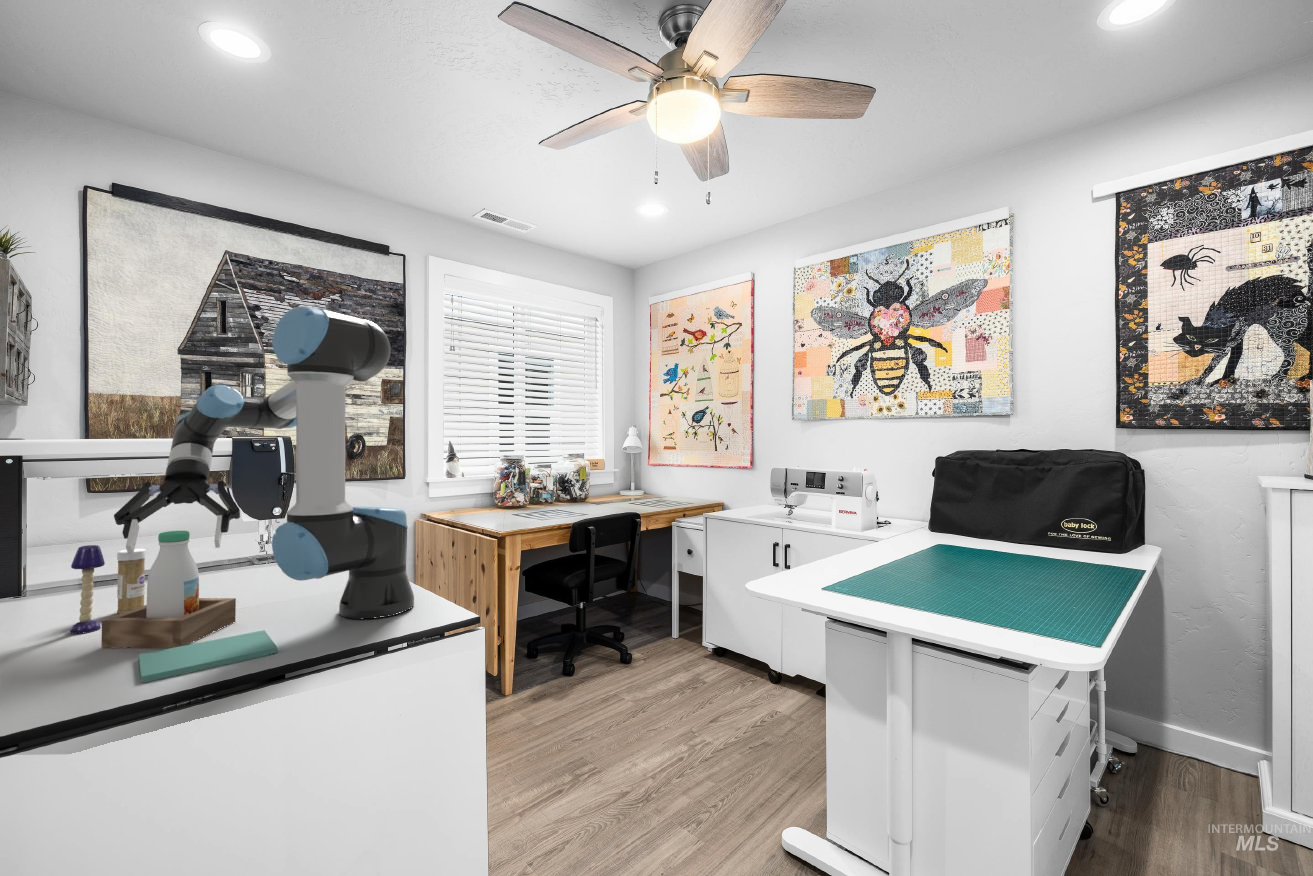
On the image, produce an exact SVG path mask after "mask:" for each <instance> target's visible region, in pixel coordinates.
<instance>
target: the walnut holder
mask: <svg viewBox="0 0 1313 876" xmlns="http://www.w3.org/2000/svg"><path fill="white" fill-rule="evenodd" d="M236 602H237V600H236V598H235V597H233V598H229V597H228V598H227V597H224V598H223V597H220V598H217V597H207V598H206V597H204V598H203V597H202V598H201V597H199V610H198V611H196V612H193V613H191V614H188V615H186V616H183V617H181V618H146V613H147V604H144V606H142V607H139V608H136V609H133V610H130V611H128V612H125V613H122V614H119V613H118V614H116V615H114V616H113V615H112V616H111V617H108V618H104V619H103V620H101V647H130V648H129V649H169V648H171V647H172V648H175V647H180V646H185V645H190V644H192V643H194V642H193V641H195V642H197V641H198V640H197V639H199V638H201V639H203V638H204V637H203V636H205V637H207V636H209V635H211V634H210V633H212V632H213V631H216V632H218V631H219V630H218V629H220V628H222V627H224V626H226V627H228V626H227V625H229V624H231V623H233V622H235V623H236V619H237V618H236V616H237V615H236V614H237V612H236V607H237V606H236V604H237V603H236ZM233 624H234V623H233ZM231 625H232V624H231ZM229 626H230V625H229ZM224 628H225V627H224ZM222 629H223V628H222ZM217 630H218V631H217ZM220 630H221V629H220ZM208 634H209V635H208ZM212 634H213V633H212ZM206 635H207V636H206ZM202 637H203V638H202ZM196 640H197V641H196ZM199 640H200V639H199ZM191 642H192V643H191ZM101 647H100V648H101Z"/></svg>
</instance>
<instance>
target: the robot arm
mask: <svg viewBox="0 0 1313 876" xmlns="http://www.w3.org/2000/svg"><path fill="white" fill-rule="evenodd" d="M272 350H273V353H274V354H275V357H276V358H277V360H279V361H280V362H281V363H283V364H285V365H287V367H286V368H287V369H286V370H287V372H286V373H287V376H288V377H289V378H291V381H289V382H288V383H287V384H285V385H283V386H281V387H280V388H279V389H277V390H276V391H274V392H272V393H271V394H269V395H268V396H265V397H259V396H258V397H257V396H246V395H245V396H243V395H242V394H241V393H240V391H239V390H237V389H235V388H233V387H229V386H227V385H224V384H215V385H212V386H210V387H209V386H208V388H207V389H205V391H203V393H202V394H201V395H200V396H198V398H197V400H196V402H195V404H194V405H193V407H192V408H191V410H190V411H187V412H186V413H182V414H181V415H180V416H179V417H178V419H177V421H176V424H175V425H174V427H173V437H172V441H171V442H172V443H171V445H170V446H171V447H170V452H169V455H168V461H167V467H166V470H165V474H164V478H163V480H164V481H163V482H162V484H160V485H157V484H155V485H154V484H152V483H151V482H150V481H149V482H148V481H147V482H144V483H143V484H142V486H141V488H140V490H139V491H138V492H137V493H136V494H135V495H134V496H132V497H131V498H130V499H129V500H128V501H127V502H126V503H125V504H124V505H123V506H122V507H121V508H120V509H118V510H117V512H116V513H114V515H113V519H114V521H115V525H117V526H121V525H123V529H122V531H121V532H122V536H123V538H124V540H126V542H125V548H126V549H125V550H127V552H128V554H133V553H134V549H136V543H137V539H138V535H139V530H140V525H139V524H140V523H141V522H143V521H144V520H146V519H147V518H148V517H150V516H152V515H153V514H154V513H156V512H157V511H159V510H161V509H162V508H166V507H168V506H169V505H171V504H174V505H180V504H193V503H195V502H197V504H199V505H201V507H202V506H204V507H205V509H207V510H208V511H210V512H211V513H213V515H215V516H217V517H216V518H217V519H216V526H215V531H214V532H215V533H214V546H215V549H217V548H218V549H220V548H221V543H222V534H224V533H228V531H229V528H230V521H231V520H233V519H235V520H238V519H240V518H241V510H240V508H239V506H238V505H237V504H236V502H235V501H234V500H233V498H232V496H231V495H230V493H229V492H228V491H227V489H226V487H225V486H226V485H225V481H224V480H219V481H217V483H209V479H210V473H211V466H212V459H213V458H212V457H213V452H214V445H215V444H216V440H217V439H218V438H219V437H220V436H221V435H222V434H223V433H224V431H226V429H227V428H243V429H244V428H248V429H249V428H250V429H251V428H252V429H254V428H255V429H275V430H282V429H291V428H295V427H296V431H295V445H296V446H295V447H296V448H295V451H296V452H295V453H296V456H295V457H296V459H295V462H296V463H295V464H296V465H295V504H294V505H293V506H291V508H290V509H289V510H288V511H286V522H284V523H282V524H281V525H279V526H278V527H277V528H276V529H275V533H273V534H272V535H273V536H272V539H271V549H272V554H273V558H274V560H275V562H276V564H277V566H278V567H279V569H280V570H281V571H282V573H283V574H284V575H285V576H287V577H288V578H290V579H292V580H295V581H308V580H314V579H317V580H318V579H322V578H324V577H328V576H332V575H335V574H339V573H343V572H348V578H347V581H346V584H345V587H344V589H343V592H342V595H341V598H340V601H339V604H338V605H339V609H338V611H339V613H340V614H339V613H338V614H339V616H341V617H342V616H344V617H343V618H345V617H348V618H347V619H350V618H374V617H380V616H388V615H393V614H396V613H399V612H402V611H405V610H408V609H409V608H411V607H412V606H413V605H414V606H415V594H414V591H413V588H412V585H411V583H410V580H409V577H408V574H407V552H408V551H407V549H408V547H407V546H408V545H407V543H408V542H407V541H408V528H409V526H408V524H407V522H408V521H407V513H406V512H405V510H403V509H401V508H393V507H392V508H391V507H381V506H351V505H350V504H349V503H348V502H347V501H346V388H347V387H349V386H351V385H353V384H354V383H355V382H359V383H362V382H367V381H369V380H370V379H371V378H374V377H375V376H376V375H378V374H379V373H380V372H382V370H383V369H384V368H385V367H386V366H387V364H388V363H389V361H390V357H391V353H392V351H391V344H390V340H389V338H388V336H387V334H386V333H385V332H384V330H383V329H382V328H381V327H380V326H379V325H378V324H376V323H374V322H373V321H371V320H369V319H365V318H361V317H355V316H351V315H347V314H343V313H339V312H335V311H332V310H327V309H323V308H320V307H318V308H316V307H309V306H296V307H293V308H291V309H289V310H287V311H286V312H285V313H284V314H283V316H282V317H281V318H280V319H279V321H278V322H277V324H276V326H275V329H274V331H273V336H272ZM210 491H213V493H214V494H216V495H218V497H219V498H220V500H221V502H222V503H223V504H224V507H223V506H222V505H221V504H220V503H219V502H217V501H216V500H215V499H213V497H211V496H209V495H208V493H209V492H210ZM158 492H159V493H158ZM156 493H158V494H157V495H156ZM154 495H156V496H155V497H154V498H153V499H151V500H150V501H148V500H149V499H150V498H151V497H153V496H154ZM146 502H147V503H146ZM225 507H226V508H225ZM414 606H413V607H414ZM413 607H412V608H413ZM412 608H411V609H412ZM408 611H409V610H408ZM393 616H394V615H393Z"/></svg>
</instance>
